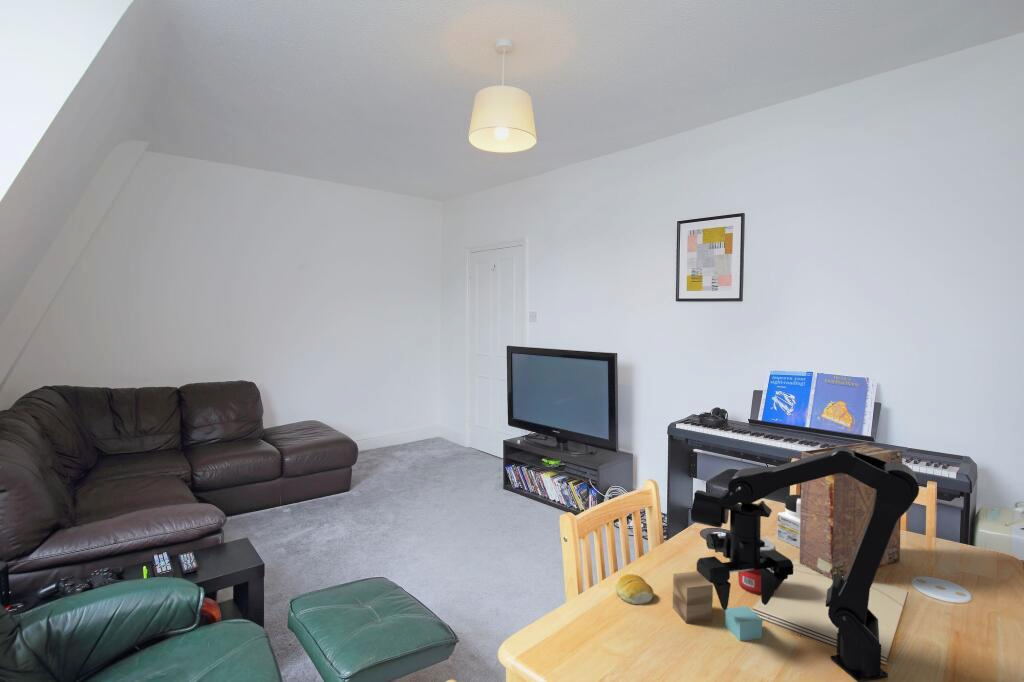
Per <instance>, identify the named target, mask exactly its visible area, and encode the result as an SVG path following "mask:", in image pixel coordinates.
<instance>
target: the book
mask: <svg viewBox="0 0 1024 682" xmlns="http://www.w3.org/2000/svg"><path fill="white" fill-rule="evenodd" d="M838 447H847V448H849V449H851V450H853V451H856V452H859V453H862V454H865V455H869V456H872V457H876V458H878V459H881V460H883V461H886V462H899V463H903V450H901V449H896V450H891V449H887V448H882V447H878V446H873V445H870V444H869V442H868V441H867V442H860V443H852V444H845V445H839V446H830V447H824V448H817V449H811V450H803V451H801V459H804V458H807V457H811V456H814V455H818V454H821V453H825V452H828V451H832V450H834V449H835V448H838ZM874 491H875V489H874V488H871V487H869V486H867V485H865V484H864V483H862V482H860V481H858V480H857V479H855V478H853V477H851V476H849V475H847V474H845V473H838V474H834V475H830V476H826V477H822V478H819V479H815V480H811V481H807V482H803V483H800V495H801V512H800V548H799V563H800V564H801V563H802V565H803V564H804V566H805V565H806V566H805V567H807V568H809V567H810V568H809V569H811V568H812V570H813V569H814V570H813V571H815V570H816V571H815V572H817V571H818V572H817V573H819V572H820V573H819V574H821V573H822V574H821V575H823V574H824V575H823V576H825V575H826V576H825V577H827V576H828V577H827V578H829V579H831V580H833V576H834V574H836V575H838V576H839V577H841V578H842V576H844V575H845V574H846V573H847V571H848V570H849V567H850V564H851V562H852V559H853V557H854V554H855V551H856V549H857V546H858V544H859V541H860V538H861V536H862V533H863V531H864V528H865V526H866V523H867V520H868V518H869V515H870V513H871V510H872V507H873V500H874ZM901 518H902V516H901V517H900V518H899V520H898V521H897V522H896V525H895V527H894V530H893V532H892V535H891V537H890V540H889V542H888V545H887V547H886V550H885V552H884V555H883V557H882V560H881V562H880V565H879V567H878V568H881V567H885V566H889V565H893V564H897V563H900V558H901V557H900V555H901V550H900V549H901V524H902V523H901V521H902V519H901Z"/></svg>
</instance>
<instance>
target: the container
mask: <svg viewBox="0 0 1024 682" xmlns="http://www.w3.org/2000/svg"><path fill="white" fill-rule="evenodd" d="M784 502H785V503H784V504H785V505H784V507H785V509H784V510H785V511H780V512H777V518H776V519H777V521H776V522H777V523H776V524H777V526H776V527H777V528H776V531H777V532H776V538H777V539H778V540H780V541H783V542H785V543H786V544H789V545H792V546H794V547H796V548H798V549H800V512H801V494H789V495H787V496H785V501H784Z"/></svg>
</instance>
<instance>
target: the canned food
mask: <svg viewBox="0 0 1024 682" xmlns="http://www.w3.org/2000/svg"><path fill="white" fill-rule="evenodd" d="M760 539H761V540H762V541H764V542H765V547H760V552H761V551H771V550H776V544H775V543H774V542H773V541H771V540H769V539H767V538H764V537H760ZM776 551H777V550H776ZM737 575H738V576H737V580H738V584H739V587H741V589H743V590H744V591H746V592H748V593H751V594H754V595H757V596H759V595H760V596H761V573H760V571H759V569H756V570H749V571H740V572H738V574H737Z"/></svg>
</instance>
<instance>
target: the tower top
mask: <svg viewBox="0 0 1024 682" xmlns="http://www.w3.org/2000/svg"><path fill="white" fill-rule="evenodd" d="M672 575H673V576H672V579H673V580H672V581H673V583H672V593H673V592H674V593H675V594H676V595H677V596H678V597H679V598H680V599H681V600H682V601H683V602H684V603H685V604H686V606H691V605H700V604H708V603H712V604H713V603H714V599H713V597H714V594H713V593H714V590H713V588H714V585H713V583H710V582H709V581H708V580H707V579H706V578H705V577H703V576H702V575H701V574H700V573H699V572H698V571H697V570H696V571H687V572H677V573H673V574H672Z"/></svg>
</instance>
